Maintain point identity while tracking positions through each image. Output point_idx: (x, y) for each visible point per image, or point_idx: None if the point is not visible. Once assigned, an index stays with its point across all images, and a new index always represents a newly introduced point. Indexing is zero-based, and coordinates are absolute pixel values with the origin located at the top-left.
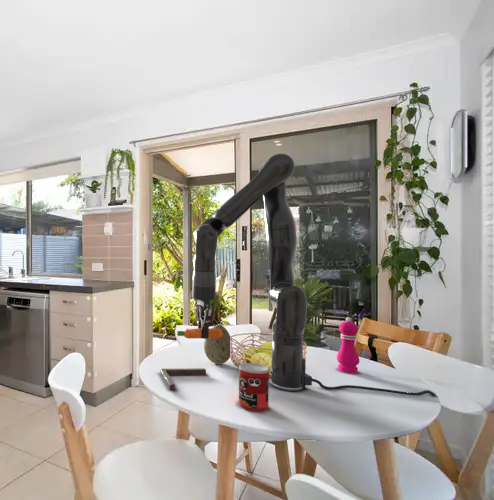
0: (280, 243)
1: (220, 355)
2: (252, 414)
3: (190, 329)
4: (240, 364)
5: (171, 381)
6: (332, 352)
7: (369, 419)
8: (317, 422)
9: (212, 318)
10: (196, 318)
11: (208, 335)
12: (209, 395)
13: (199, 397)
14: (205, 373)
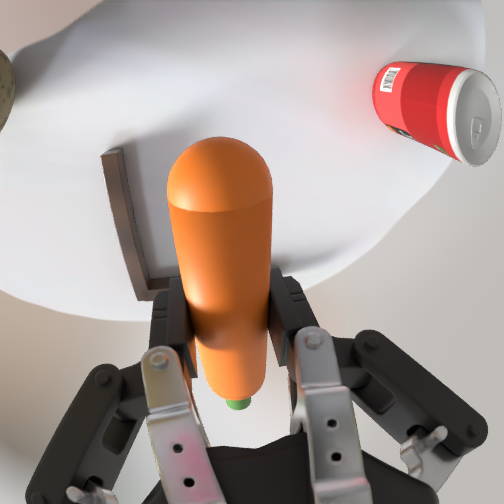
0: None
1: (9, 89)
2: None
3: (252, 387)
4: (459, 150)
5: None
6: None
7: None
8: (460, 29)
9: (435, 381)
10: (141, 423)
11: (283, 277)
12: (323, 182)
13: (331, 213)
14: (121, 151)
